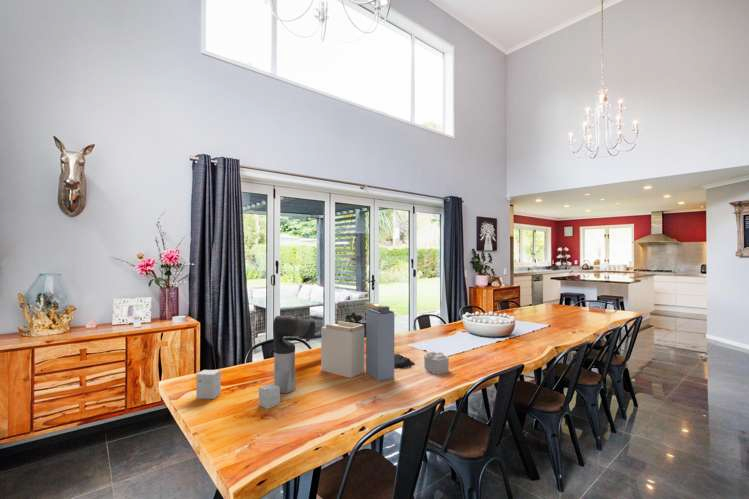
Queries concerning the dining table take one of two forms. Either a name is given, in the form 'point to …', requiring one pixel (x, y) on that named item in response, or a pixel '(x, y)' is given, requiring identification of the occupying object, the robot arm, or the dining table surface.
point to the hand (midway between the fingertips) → (361, 313)
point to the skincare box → (269, 396)
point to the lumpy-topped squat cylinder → (436, 362)
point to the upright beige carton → (342, 349)
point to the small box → (208, 384)
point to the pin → (377, 307)
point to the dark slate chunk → (401, 361)
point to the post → (380, 344)
